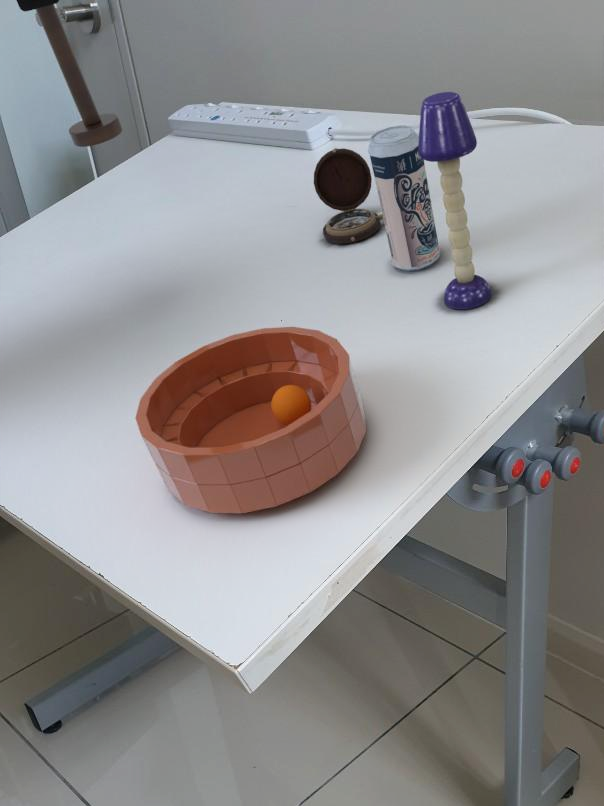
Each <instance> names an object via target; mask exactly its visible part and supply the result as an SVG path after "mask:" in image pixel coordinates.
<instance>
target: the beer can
mask: <svg viewBox="0 0 604 806" xmlns="http://www.w3.org/2000/svg"><path fill="white" fill-rule="evenodd" d="M418 144H419V134H417V132H416V130H415V129H414V128H413V126H409V125H395V126H388V127H386V128H382V129H381V130H378V131H376V132H375V133H373V134H372V135H371V136H370V140H369V145H368V148H367V153H368V155H369V158H370V163H371V168H372V173H373V176H374V177H373V178H374V181H375V186H376V191H377V197H378V199H379V204H380V209H381V214H383V219H384V220H383V223H384V228H385V232H386V238H387V243H388V247H389V251H390V257H391V264H392V265H393V266H394V267H395V268H397V269H399V270H402V271H408V272H414V271H420V270H424V269H426V268H428V267H430V266H432V264H434V262H436V261H438V259H439V258H440V256H441V250H440V245H439V244H440V243H439V239H438V234H437V228H436V221H435V217H434V211H433V205H432V200H431V193H430V188H429V183H428V177H427V169H426V164H425V160H423V159H422V158H421V157H420V156H419V152H418Z"/></svg>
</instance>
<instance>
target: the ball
mask: <svg viewBox="0 0 604 806" xmlns="http://www.w3.org/2000/svg"><path fill="white" fill-rule="evenodd" d="M271 407H272V411H273V414H274V415H275V417H276V418H277V419H278V420H279V421H280V422H282V423H284V424H287V425H290V424H291V423H293V422H294V421H296V420H298V419H299V418H301V417H302V416H304V415H306V414H307V413H309V412H310V411H311V400H310V397H309V395H308V394H307V392H306V391H305V390H304V389H302V388H301V387H298V386H295V385H287V386H283V387H281V388H280V389H278V390H277V391H276V393H275V394H274V396H273V398H272V402H271Z"/></svg>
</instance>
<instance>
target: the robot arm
mask: <svg viewBox="0 0 604 806" xmlns="http://www.w3.org/2000/svg"><path fill="white" fill-rule="evenodd" d="M15 1H16V3H17V5H18V8H19V9H20V10H21V11H22V12H25V13H26V12H29V11H33V10H36V9H37V8H41V7H45V6H49V5H52V4H54V5H56V4H58V3H59V2H60V0H15Z"/></svg>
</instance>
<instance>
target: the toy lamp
mask: <svg viewBox="0 0 604 806" xmlns="http://www.w3.org/2000/svg"><path fill="white" fill-rule="evenodd" d="M419 120H420V121H419V130H418V136H419V144H418V152H419V156H420V157H421V158H422V159H423V160H424V161H427V162H431V163H437V168H438V170H439V172H440V179H439V181H440V188H441V189H442V191H443V195H442V196H443V197H442V202H443V203H442V204H443V207H444V209H445V210H446V212H445V222H446V223H445V224H446V225H447V228H448V229H449V230H448V240H449V241H448V242H449V243H450V245H451V259H452V262H453V263H454V269H453V272H454V276H455V277H454V278H453V279H452V280H450V281H449V283H448V284H447V286H446V288H445V290H444V296H443V301H444V304H445V306H446V307H448V308H450V309H453V310H470V309H475V308H478V307H479V306H482V305H484V304H485V303H488V301H489V300H490V299H491V297H492V295H493V292H492V289H491V286H490V284H489V282H488V281H487V279H485V278H483V277H482V276H480V275H478V274H475V273H476V269H475V265H474V263H473V261H472V260H473V249H472V246H471V244H470V241H471V233H470V232H471V231H470V230H469V228H468V226H467V225H468V213H467V211H466V209H465V203H466V199H465V193H464V191H463V190H462V188H463V176H462V173H461V172H460V167H461V159H460V158H462V157H465V156H468V155H470V154H471V153H473V152H474V151H475V149H476V148H477V145H478V141H477V136H476V134H475V131H474V129H473V126H472V123H471V121H470V117H469V115H468V113H467V109H466V106H465V105H464V102H463V100H462V98H461V96H460V95H459V94H458V92H454V91H443V92H437V93H434V94H431V95H428V96H427V97H425V98H424V99H422V102H421V106H420V119H419Z"/></svg>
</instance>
